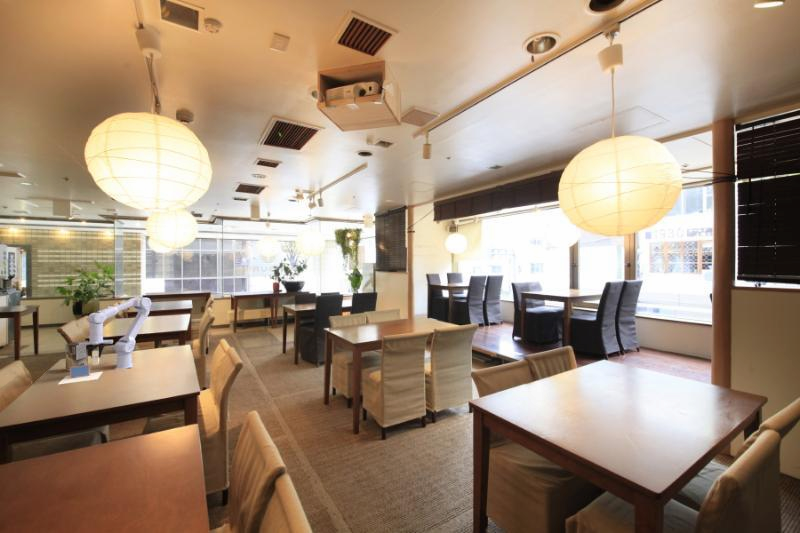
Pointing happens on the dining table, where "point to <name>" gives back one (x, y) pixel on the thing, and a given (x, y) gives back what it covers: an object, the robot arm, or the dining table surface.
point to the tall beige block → (95, 357)
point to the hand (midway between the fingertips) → (96, 357)
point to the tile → (79, 371)
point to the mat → (80, 378)
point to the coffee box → (76, 355)
